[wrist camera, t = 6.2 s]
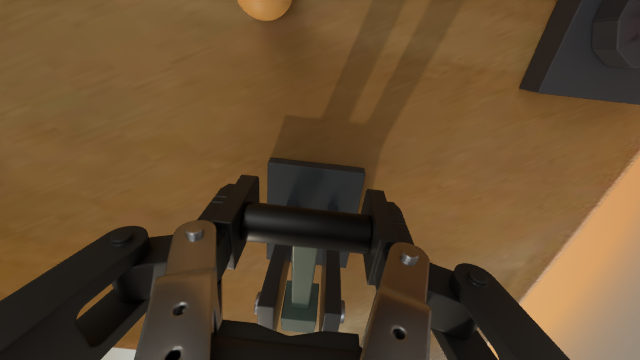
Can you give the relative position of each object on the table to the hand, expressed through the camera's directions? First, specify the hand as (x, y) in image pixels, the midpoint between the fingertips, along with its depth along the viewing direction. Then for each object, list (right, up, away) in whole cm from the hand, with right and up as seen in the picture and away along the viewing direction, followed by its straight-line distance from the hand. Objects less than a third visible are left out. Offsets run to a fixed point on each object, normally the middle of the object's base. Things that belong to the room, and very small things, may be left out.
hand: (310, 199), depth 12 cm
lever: (0, -4, +3) cm, 5 cm away
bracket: (0, -3, +15) cm, 15 cm away
